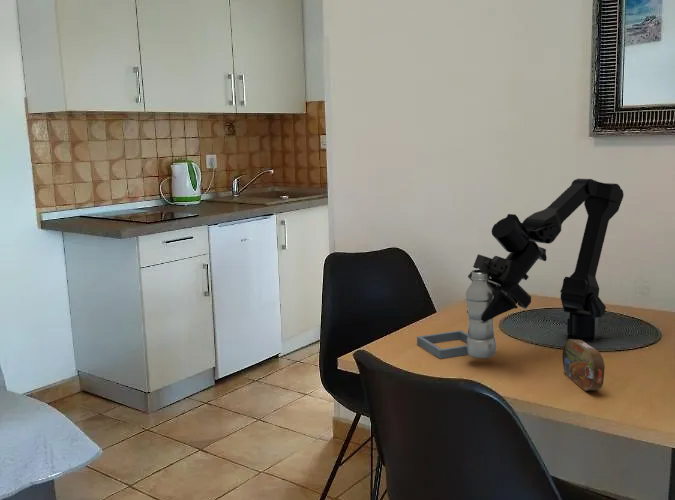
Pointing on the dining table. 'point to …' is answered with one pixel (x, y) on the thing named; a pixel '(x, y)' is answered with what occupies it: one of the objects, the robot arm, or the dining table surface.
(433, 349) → the frame
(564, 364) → the tin
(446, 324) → the dining table surface
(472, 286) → the plastic bottle
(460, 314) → the dining table surface
